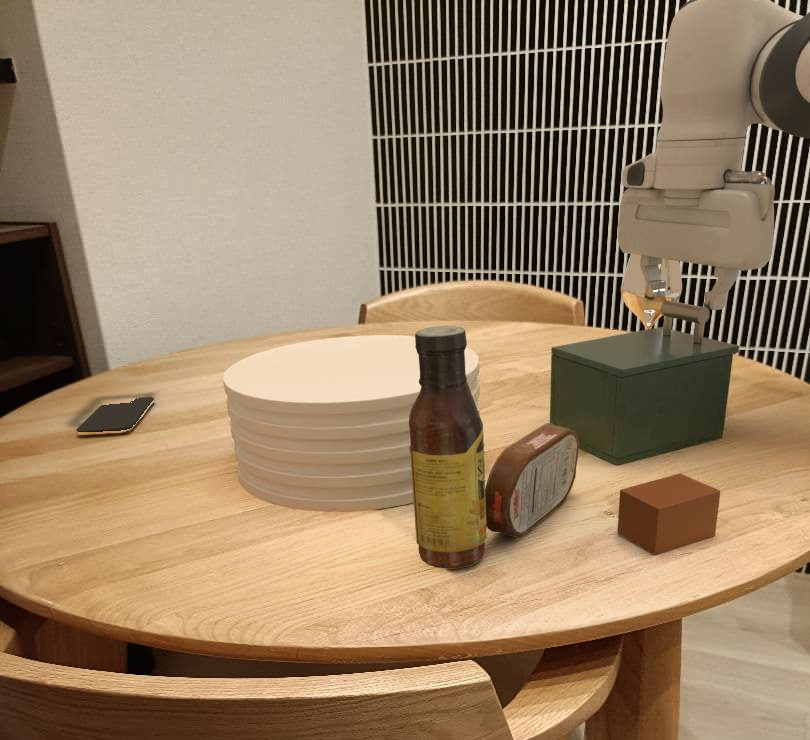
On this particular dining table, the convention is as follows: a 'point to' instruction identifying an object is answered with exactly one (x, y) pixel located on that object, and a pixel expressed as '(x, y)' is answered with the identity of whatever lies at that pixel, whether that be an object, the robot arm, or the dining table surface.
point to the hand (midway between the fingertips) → (683, 302)
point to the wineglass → (636, 284)
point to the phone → (116, 416)
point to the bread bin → (640, 407)
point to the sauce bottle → (447, 454)
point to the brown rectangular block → (668, 513)
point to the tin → (531, 479)
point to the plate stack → (329, 421)
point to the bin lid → (650, 345)
